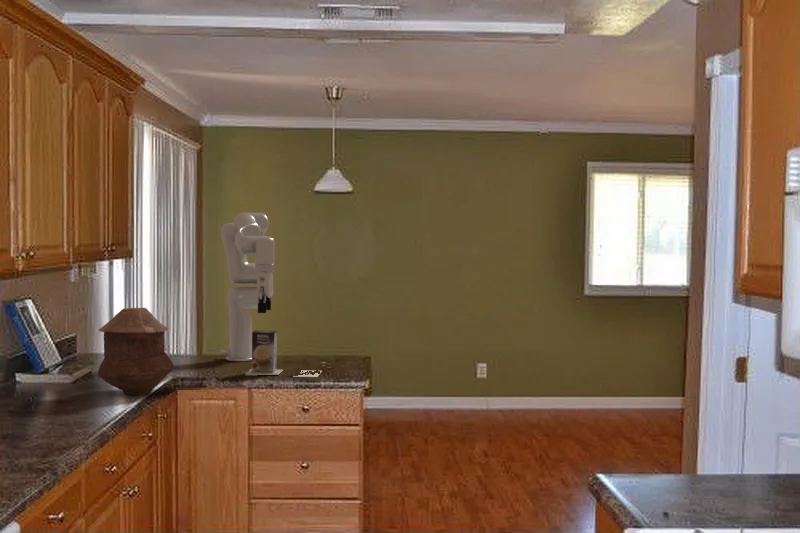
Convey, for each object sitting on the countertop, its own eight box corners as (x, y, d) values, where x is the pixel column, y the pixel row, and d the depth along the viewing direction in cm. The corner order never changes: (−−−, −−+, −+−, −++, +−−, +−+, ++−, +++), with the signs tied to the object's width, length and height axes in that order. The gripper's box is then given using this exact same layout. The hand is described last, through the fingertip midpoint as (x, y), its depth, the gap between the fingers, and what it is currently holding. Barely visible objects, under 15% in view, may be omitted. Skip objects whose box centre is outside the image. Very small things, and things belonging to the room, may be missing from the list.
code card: (286, 376, 342) (286, 376, 342) (292, 370, 356) (292, 370, 356) (317, 377, 342) (317, 376, 342) (322, 371, 356) (322, 370, 356)
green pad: (245, 375, 344) (245, 373, 344) (250, 370, 354) (250, 368, 354) (278, 375, 343) (278, 373, 343) (282, 371, 353) (282, 369, 353)
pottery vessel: (134, 403, 290) (133, 313, 288) (80, 395, 302) (80, 308, 301) (188, 390, 312) (188, 306, 311) (136, 383, 325) (136, 302, 323)
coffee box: (250, 372, 346) (251, 332, 345) (254, 369, 352) (254, 330, 351) (273, 373, 345) (274, 332, 344) (277, 370, 352) (277, 330, 351)
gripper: (270, 270, 338) (269, 314, 339) (278, 267, 355) (277, 309, 356) (250, 269, 338) (250, 313, 339) (259, 266, 355) (259, 308, 357)
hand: (264, 311), depth 348 cm, fingers open, 9 cm apart
